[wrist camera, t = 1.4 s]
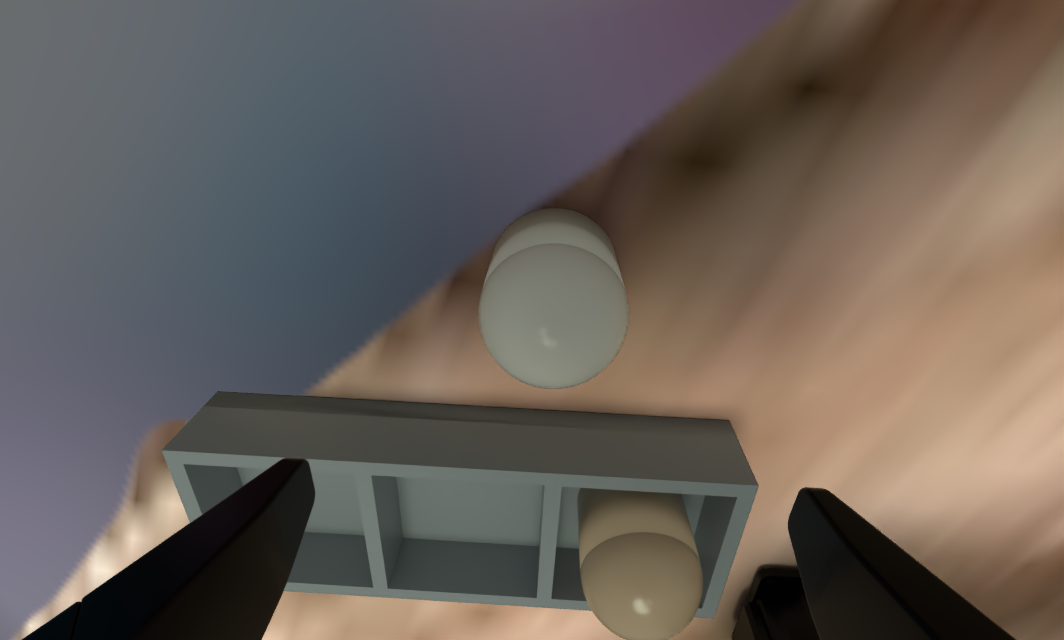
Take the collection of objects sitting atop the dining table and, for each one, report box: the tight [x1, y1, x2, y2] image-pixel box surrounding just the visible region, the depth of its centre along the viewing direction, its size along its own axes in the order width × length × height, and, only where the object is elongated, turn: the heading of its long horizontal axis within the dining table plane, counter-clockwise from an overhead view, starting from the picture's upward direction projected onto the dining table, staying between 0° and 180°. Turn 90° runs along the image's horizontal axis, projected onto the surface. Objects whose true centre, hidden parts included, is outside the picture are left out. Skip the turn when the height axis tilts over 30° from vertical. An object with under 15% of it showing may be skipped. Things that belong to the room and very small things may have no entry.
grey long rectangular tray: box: [162, 391, 759, 618], centre depth 22 cm, size 21×8×4 cm, turn 88°
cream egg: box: [478, 208, 629, 389], centre depth 16 cm, size 4×4×6 cm
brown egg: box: [577, 488, 703, 640], centre depth 20 cm, size 4×4×6 cm
